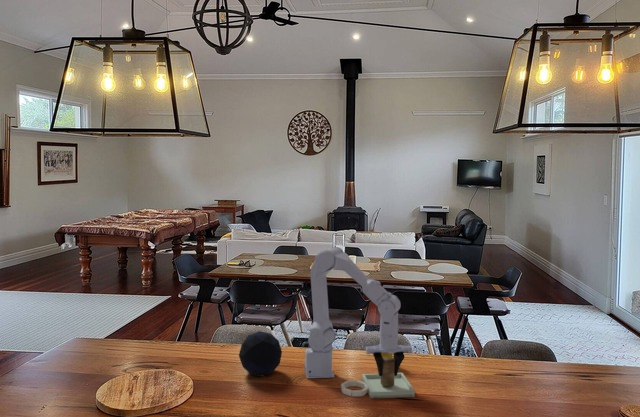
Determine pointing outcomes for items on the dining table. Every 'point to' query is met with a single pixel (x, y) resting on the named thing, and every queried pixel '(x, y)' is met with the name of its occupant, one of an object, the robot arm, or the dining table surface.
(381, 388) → the tray
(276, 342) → the decorative orb
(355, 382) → the holder ring
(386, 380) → the walnut canister
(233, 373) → the dining table surface
